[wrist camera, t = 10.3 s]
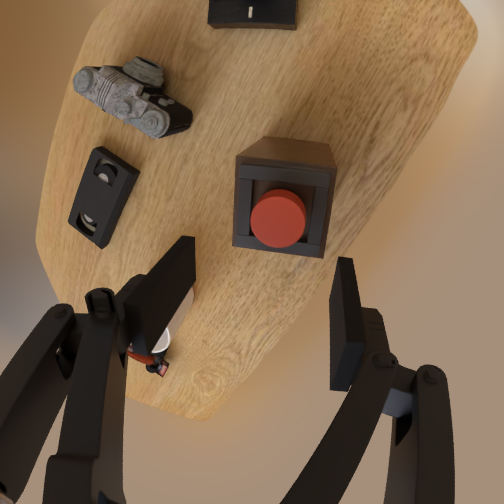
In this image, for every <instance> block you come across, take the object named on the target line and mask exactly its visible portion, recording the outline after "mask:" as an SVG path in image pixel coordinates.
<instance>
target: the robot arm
mask: <svg viewBox="0 0 504 504" xmlns="http://www.w3.org/2000/svg"><path fill="white" fill-rule="evenodd" d="M195 281H196V263H195V237H191V236H183V235H182V236H181V237H180V238H179V239H178V240H177V241H176V243H175V244H174V245H173V246H172V247H171V248H170V249H169V250H168V251H167V252H166V254H165V255H164V256H163V257H162V258H161V259H160V260H159V261H158V263H157V264H156V265H155V266H154V267H153V268H152V269H151V270H150V272H149V273H148V274H147V275H143V274H138V275H136V276H134V277H132V278H131V279H130V280H129V281H128V282H127V283H126V284H125V285H124V286H123V287H122V288H121V290H120V291H119V292H118V293H117V294H116V295H115V294H114V292H113V291H112V290H111V289H109V288H96V289H93V290H91V291H89V292H88V293H87V294H86V295H85V301H86V305H87V308H88V312H89V313H87V314H83V313H74V310H73V307H72V306H71V305H69V304H63V303H61V304H57V305H55V306H53V307H51V308H50V309H49V310H48V311H47V312H46V314H45V315H44V316H43V318H42V319H41V320H40V322H39V323H38V324H37V325H36V327H35V328H34V329H33V331H32V332H31V333H30V335H29V336H28V337H27V339H26V340H25V341H24V343H23V344H22V345H21V347H20V348H19V350H18V351H17V352H16V354H15V355H14V357H13V358H12V359H11V361H10V362H9V364H8V365H7V367H6V368H5V370H4V371H3V372H2V374H1V376H0V504H15V503H16V502H17V501H18V499H19V497H20V496H21V494H22V492H23V491H24V489H25V486H26V484H27V482H28V480H29V477H30V475H31V472H32V470H33V468H34V465H35V463H36V460H37V458H38V456H39V454H40V451H41V449H42V447H43V445H44V442H45V440H46V438H47V436H48V434H49V431H50V429H51V427H52V425H53V423H54V421H55V418H56V416H57V414H58V413H59V410H60V408H61V406H62V404H63V402H64V400H65V398H66V396H67V400H66V405H65V410H64V415H63V421H62V427H61V432H60V439H59V445H58V451H57V453H56V455H51V456H50V457H49V459H48V462H47V466H46V475H45V482H44V491H43V492H44V493H43V502H42V504H126V499H125V496H124V493H123V472H122V470H123V469H122V468H123V464H122V463H123V459H122V458H123V424H124V405H125V390H126V377H127V365H128V353H127V349H128V347H129V346H130V344H131V345H132V349H133V353H136V354H140V355H143V356H147V357H149V355H150V354H151V352H152V350H153V349H154V347H155V345H156V344H157V342H158V341H159V339H160V337H161V336H162V334H163V332H164V331H165V329H166V327H167V326H168V324H169V323H170V321H171V319H172V318H173V316H174V314H175V313H176V311H177V310H178V308H179V306H180V305H181V303H182V302H183V300H184V298H185V297H186V295H187V294H188V292H189V290H190V289H191V287H192V286H193V284H194V282H195ZM329 313H330V390H333V391H345V392H348V390H349V388H350V385H351V388H350V390H349V392H348V394H347V396H346V398H345V400H344V401H343V403H342V405H341V407H340V409H339V411H338V413H337V414H336V416H335V418H334V420H333V421H332V423H331V425H330V427H329V428H328V430H327V432H326V434H325V435H324V437H323V439H322V440H321V442H320V444H319V445H318V447H317V448H316V450H315V452H314V453H313V455H312V456H311V458H310V460H309V461H308V463H307V464H306V466H305V467H304V469H303V471H302V472H301V474H300V475H299V477H298V478H297V480H296V481H295V483H294V484H293V485H292V487H291V488H290V490H289V491H288V493H287V494H286V496H285V497H284V498H283V500H282V501H281V502H280V504H338V503H339V501H340V500H341V498H342V496H343V494H344V492H345V490H346V488H347V486H348V485H349V482H350V481H351V479H352V477H353V475H354V473H355V471H356V469H357V467H358V465H359V463H360V461H361V458H362V456H363V454H364V452H365V450H366V448H367V446H368V443H369V441H370V439H371V436H372V434H373V432H374V430H375V427H376V425H377V422H378V420H379V418H380V415H381V413H384V414H386V415H389V416H393V419H392V435H391V447H390V457H389V468H388V476H387V483H386V491H385V498H384V504H454V501H455V500H454V499H455V467H454V443H453V429H452V418H451V408H450V399H449V391H448V383H447V378H446V375H445V373H444V372H443V371H442V370H441V369H440V368H438V367H437V366H434V365H423V366H420V368H419V369H418V370H417V371H414V370H411V369H408V368H405V367H403V366H401V365H399V364H398V360H397V358H396V357H395V356H394V355H393V354H392V353H391V352H390V349H389V344H388V340H387V336H386V331H385V326H384V322H383V318H382V315H381V314H380V313H379V312H378V310H377V309H373V308H365V307H361V302H360V296H359V291H358V286H357V280H356V275H355V269H354V264H353V259H352V258H346V257H339V256H338V261H337V265H336V271H335V275H334V280H333V285H332V290H331V294H330V298H329ZM58 348H59V350H58ZM57 350H58V352H57ZM56 352H57V353H56ZM67 394H68V395H67Z"/></svg>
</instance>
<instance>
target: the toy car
mask: <svg viewBox="0 0 504 504" xmlns="http://www.w3.org/2000/svg"><path fill="white" fill-rule="evenodd" d="M167 350H168V347H167V348H166V349H165V350H164V351H161V352H158V353H151V354H150V355H149V357H147V356H143V355H140V354H136V353H133V349H132V345H131V344H130V346H129V347H128V349H127V353H128V356H130V357H131V358H133V359H135V360H137V361H139V362H141V363H144V364H146V370H147V371H148V372H151V373H155V372H156V373H157V374H158V375H160V376H161V377H163V376H164V374H165V373H166V371H167V369H168V366H169V363H167V362H166V361H165V360H164V357H163V356H165V354H166V352H167Z"/></svg>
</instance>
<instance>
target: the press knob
mask: <svg viewBox="0 0 504 504" xmlns="http://www.w3.org/2000/svg"><path fill="white" fill-rule="evenodd" d="M305 221H306V210H305V206H304V204H303V202H302V201H301V199H300V198H299V197H298V196H297V195H296V194H294V193H292V192H290V191H288V190H283V189H275V190H271V191H269V192H267V193H265V194H264V195H263V196H261V198H260V199H259V200H258V202H257V204H256V205H255V207H254V209H253V211H252V214H251V219H250V223H251V228H252V231H253V233H254V235H255V236H256V237H257V238H258V239H259V240H260V241H261V242H262V243H264V244H266V245H268V246H271V247H275V248H283V247H287V246H290V245H292V244H294V243H295V242H297V241H298V240H299V239H300V237H301V236H302V234H303V232H304V229H305Z"/></svg>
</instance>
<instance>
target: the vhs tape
mask: <svg viewBox="0 0 504 504" xmlns="http://www.w3.org/2000/svg"><path fill="white" fill-rule="evenodd" d="M139 174H140V171H138V170H137V169H135V168H134V167H132V166H131V165H129V164H128V163H126V162H125V161H124V160H122V159H121V158H119V157H118V156H116V155H115V154H113V153H112V152H110V151H109V150H107V149H106V148H104V147H103V146H100V147H97V148H94V149H93V150H92V152H91V155H90V157H89V160H88V163H87V165H86V168H85V171H84V173H83V176H82V179H81V182H80V185H79V188H78V191H77V194H76V197H75V200H74V203H73V206H72V209H71V212H70V216H69V219H68V223H69V224H70V225H71V226H73V227H74V228H75V229H77V230H78V231H79V232H80V233H82V234H83V235H84V236H85V237H87V238H88V239H89V240H91V241H92V242H94V243H95V245H97V246H98V247H99V248H101V249H103V248H104V247H106V246H107V245H108V244H109V241H110V239H111V236H112V234H113V232H114V229H115V227H116V224H117V222H118V220H119V217H120V215H121V213H122V210H123V208H124V206H125V204H126V201H127V199H128V197H129V195H130V193H131V191H132V188H133V186H134V184H135V182H136V180H137V178H138V176H139Z"/></svg>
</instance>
